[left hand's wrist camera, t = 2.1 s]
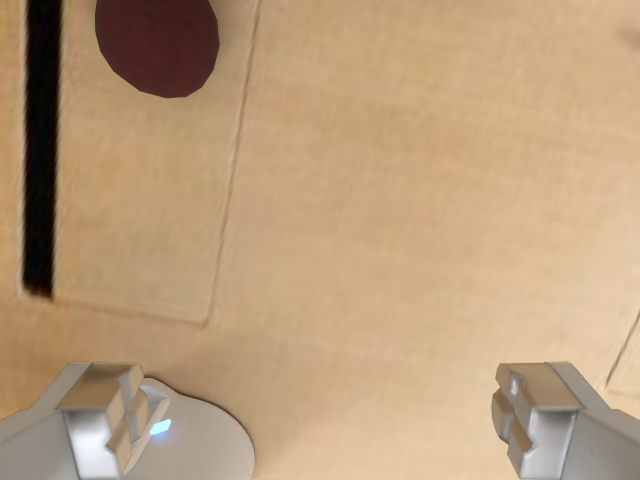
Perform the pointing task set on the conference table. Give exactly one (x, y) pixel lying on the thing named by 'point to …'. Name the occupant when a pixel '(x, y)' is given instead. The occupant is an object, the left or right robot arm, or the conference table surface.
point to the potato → (159, 43)
